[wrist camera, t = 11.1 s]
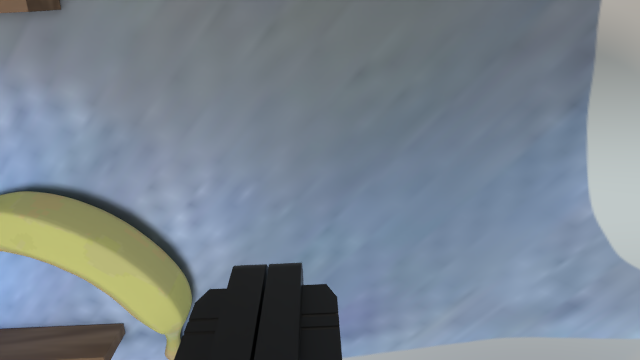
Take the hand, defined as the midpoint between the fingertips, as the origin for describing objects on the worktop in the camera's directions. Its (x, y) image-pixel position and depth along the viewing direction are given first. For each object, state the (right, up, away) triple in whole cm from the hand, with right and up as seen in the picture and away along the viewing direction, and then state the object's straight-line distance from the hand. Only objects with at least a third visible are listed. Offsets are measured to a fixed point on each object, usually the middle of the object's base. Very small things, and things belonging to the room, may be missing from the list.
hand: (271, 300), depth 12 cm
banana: (-17, -5, +33) cm, 37 cm away
